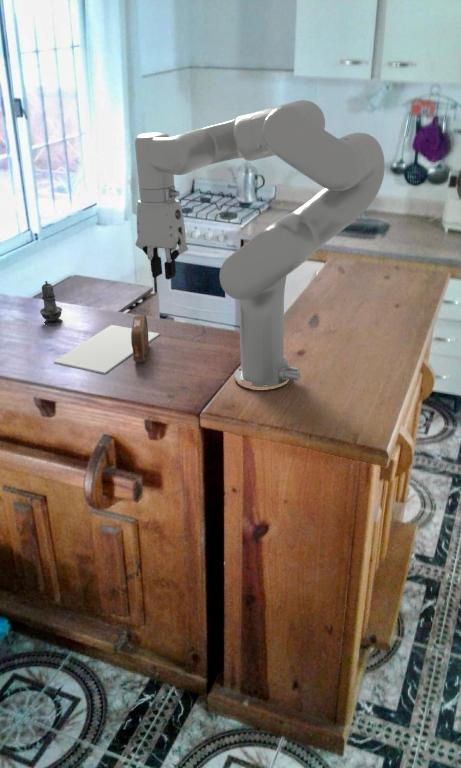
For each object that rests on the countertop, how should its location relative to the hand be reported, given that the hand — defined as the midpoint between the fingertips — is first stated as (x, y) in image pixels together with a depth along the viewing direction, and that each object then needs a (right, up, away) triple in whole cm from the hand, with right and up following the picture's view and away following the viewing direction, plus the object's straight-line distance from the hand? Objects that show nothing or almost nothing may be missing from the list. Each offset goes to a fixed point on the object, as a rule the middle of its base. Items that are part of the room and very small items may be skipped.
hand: (163, 276), depth 159 cm
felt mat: (-15, -15, +17) cm, 28 cm away
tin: (-7, -17, +13) cm, 23 cm away
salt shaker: (-33, -8, +33) cm, 48 cm away
